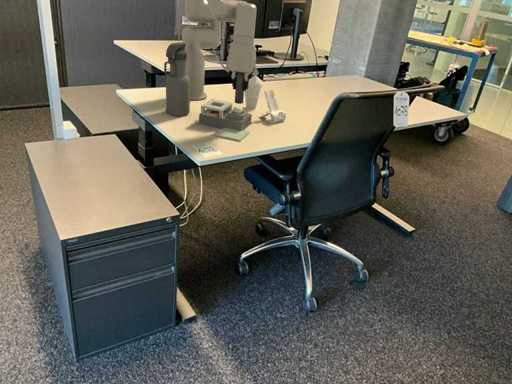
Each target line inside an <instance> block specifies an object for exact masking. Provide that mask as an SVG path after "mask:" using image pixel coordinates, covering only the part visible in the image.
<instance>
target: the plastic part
mask: <svg viewBox="0 0 512 384" xmlns="http://www.w3.org/2000/svg"><path fill="white" fill-rule="evenodd" d="M264 96H265V98H266V103H267V108H268V110H269V112H268V111H266V113H265V114H264V113H262V114H261V115H260V116H258V117H257V118H258V119H262V118H265V117H268V116H270V118H271V120H269V121H268V123H269V124H275V123H280V122H283V121H285V120H286V117H287V115H286V114H287V113H286V112H285V111H284V110H283V109H279V106H278V102H277V98H275V97H276V95H275V93H274V89H271V90H269V91H268V90H265V91H264Z"/></svg>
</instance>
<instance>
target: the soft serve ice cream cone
mask: <svg viewBox="0 0 512 384" xmlns="http://www.w3.org/2000/svg"><path fill="white" fill-rule="evenodd" d="M262 87H263V82H262V80H261V79H260V78H259V76H258V75H256V76H254V77H252V78H251V79H250V80H249V84H248V89H247V90H246V91H244V98H245V106H246V107H245V108H246V109H249V110H255V109H256V107H257V104H258V101H259V98H260V93H261V89H262Z"/></svg>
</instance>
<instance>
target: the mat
mask: <svg viewBox="0 0 512 384" xmlns="http://www.w3.org/2000/svg"><path fill="white" fill-rule="evenodd" d="M249 134H250V131H247V130H242V131H239V130H234V129H229V128H223V129H222V128H221V130H219V131H218V132H216V134H215V137H219V138H223V139H228V140H233V141H235V142H242V140H244V139H245V138H246V137H247V136H248V135H249Z"/></svg>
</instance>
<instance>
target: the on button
mask: <svg viewBox="0 0 512 384" xmlns="http://www.w3.org/2000/svg"><path fill="white" fill-rule="evenodd" d="M233 109H234V110H233V113H235V114H242V111H244V109H243V107H242V106H234V107H233Z"/></svg>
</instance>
